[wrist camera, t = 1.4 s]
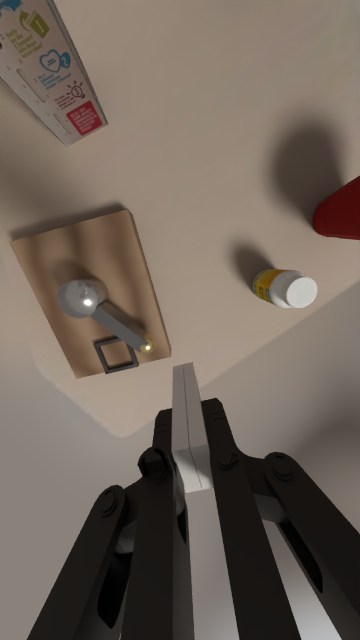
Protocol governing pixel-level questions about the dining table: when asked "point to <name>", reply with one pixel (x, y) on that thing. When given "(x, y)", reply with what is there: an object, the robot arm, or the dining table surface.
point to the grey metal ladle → (102, 312)
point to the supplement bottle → (285, 288)
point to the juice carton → (47, 69)
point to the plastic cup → (340, 213)
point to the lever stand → (107, 266)
